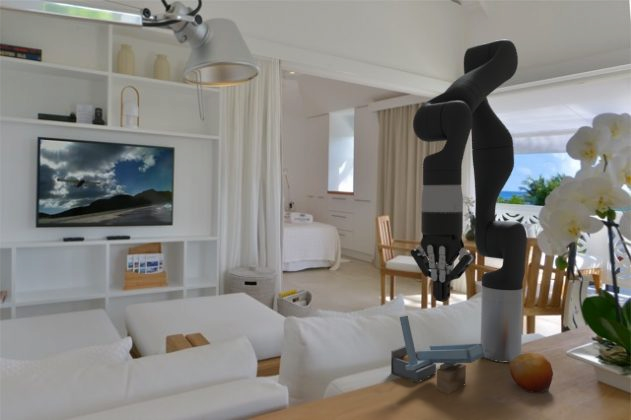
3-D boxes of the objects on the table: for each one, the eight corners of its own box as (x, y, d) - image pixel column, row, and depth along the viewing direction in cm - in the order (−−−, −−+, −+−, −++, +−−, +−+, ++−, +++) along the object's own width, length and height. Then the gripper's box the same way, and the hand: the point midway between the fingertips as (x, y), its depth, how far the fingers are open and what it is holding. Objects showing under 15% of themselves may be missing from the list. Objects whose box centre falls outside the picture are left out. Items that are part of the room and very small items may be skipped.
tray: (410, 365, 101) (410, 343, 101) (435, 373, 96) (436, 351, 96) (391, 373, 96) (391, 350, 96) (417, 382, 91) (417, 359, 91)
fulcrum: (454, 380, 93) (454, 354, 93) (465, 383, 91) (466, 357, 91) (436, 389, 88) (436, 362, 88) (447, 394, 86) (448, 366, 86)
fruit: (569, 391, 84) (546, 354, 85) (531, 408, 86) (509, 372, 86) (555, 375, 92) (534, 341, 93) (520, 391, 94) (500, 358, 94)
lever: (433, 356, 96) (423, 309, 97) (484, 355, 87) (472, 303, 89) (402, 370, 88) (392, 318, 90) (455, 370, 79) (442, 313, 81)
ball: (419, 372, 97) (406, 363, 99) (423, 358, 96) (410, 349, 99) (409, 376, 95) (397, 367, 97) (414, 362, 94) (401, 353, 96)
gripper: (485, 209, 80) (484, 303, 81) (422, 208, 90) (422, 292, 90) (464, 210, 75) (464, 311, 76) (401, 209, 85) (400, 298, 85)
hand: (441, 300), depth 83 cm, fingers closed
